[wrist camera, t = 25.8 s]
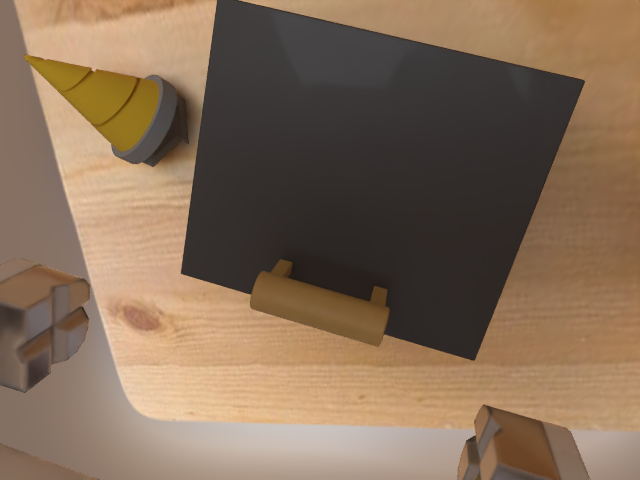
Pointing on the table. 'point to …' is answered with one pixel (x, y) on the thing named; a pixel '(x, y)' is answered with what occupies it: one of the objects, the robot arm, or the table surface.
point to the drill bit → (122, 108)
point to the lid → (367, 176)
